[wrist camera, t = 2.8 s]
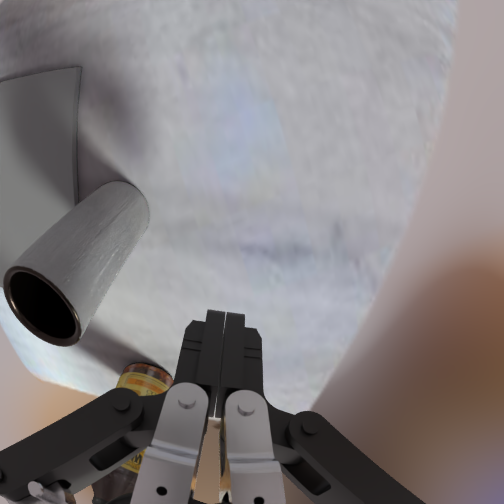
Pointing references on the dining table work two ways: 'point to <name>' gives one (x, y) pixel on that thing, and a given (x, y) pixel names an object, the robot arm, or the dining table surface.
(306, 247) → the dining table surface
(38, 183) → the mat
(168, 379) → the sauce bottle
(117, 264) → the grey hollow cylinder
